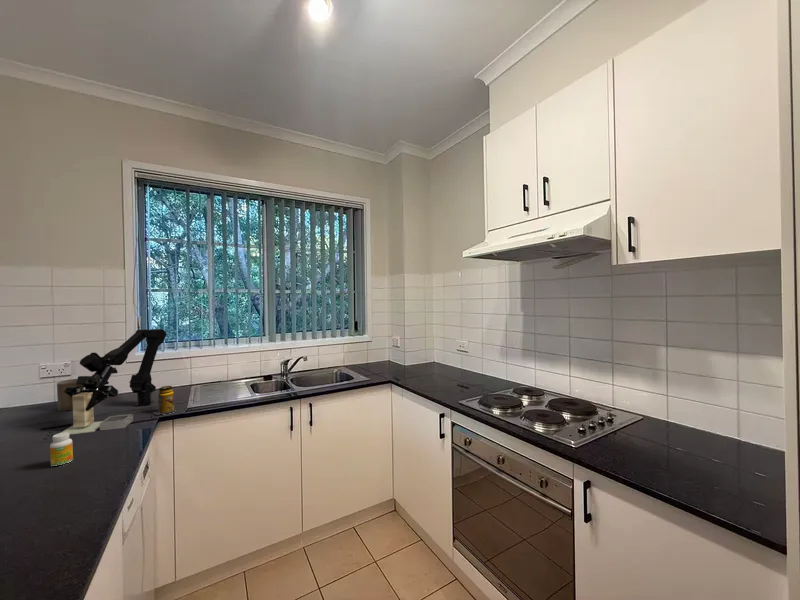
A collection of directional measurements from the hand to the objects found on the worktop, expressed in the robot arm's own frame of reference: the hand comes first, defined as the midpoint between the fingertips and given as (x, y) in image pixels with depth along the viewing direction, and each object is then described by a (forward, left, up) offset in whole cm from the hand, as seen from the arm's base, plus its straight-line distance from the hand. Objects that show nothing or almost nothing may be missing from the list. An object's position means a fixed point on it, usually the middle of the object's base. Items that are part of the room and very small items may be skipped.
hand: (80, 410), depth 144 cm
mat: (-1, 0, -8) cm, 8 cm away
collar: (0, +12, -8) cm, 15 cm away
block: (-1, 0, -7) cm, 7 cm away
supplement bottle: (+34, +10, -8) cm, 36 cm away
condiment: (-12, +26, -8) cm, 30 cm away
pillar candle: (-36, -21, -8) cm, 43 cm away
